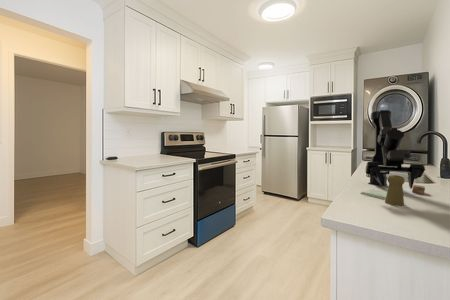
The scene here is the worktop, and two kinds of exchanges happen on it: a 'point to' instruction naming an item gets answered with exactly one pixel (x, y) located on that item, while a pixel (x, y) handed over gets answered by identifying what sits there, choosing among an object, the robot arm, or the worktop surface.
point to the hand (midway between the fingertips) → (396, 186)
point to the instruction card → (405, 191)
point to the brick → (418, 189)
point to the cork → (395, 191)
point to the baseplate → (375, 193)
